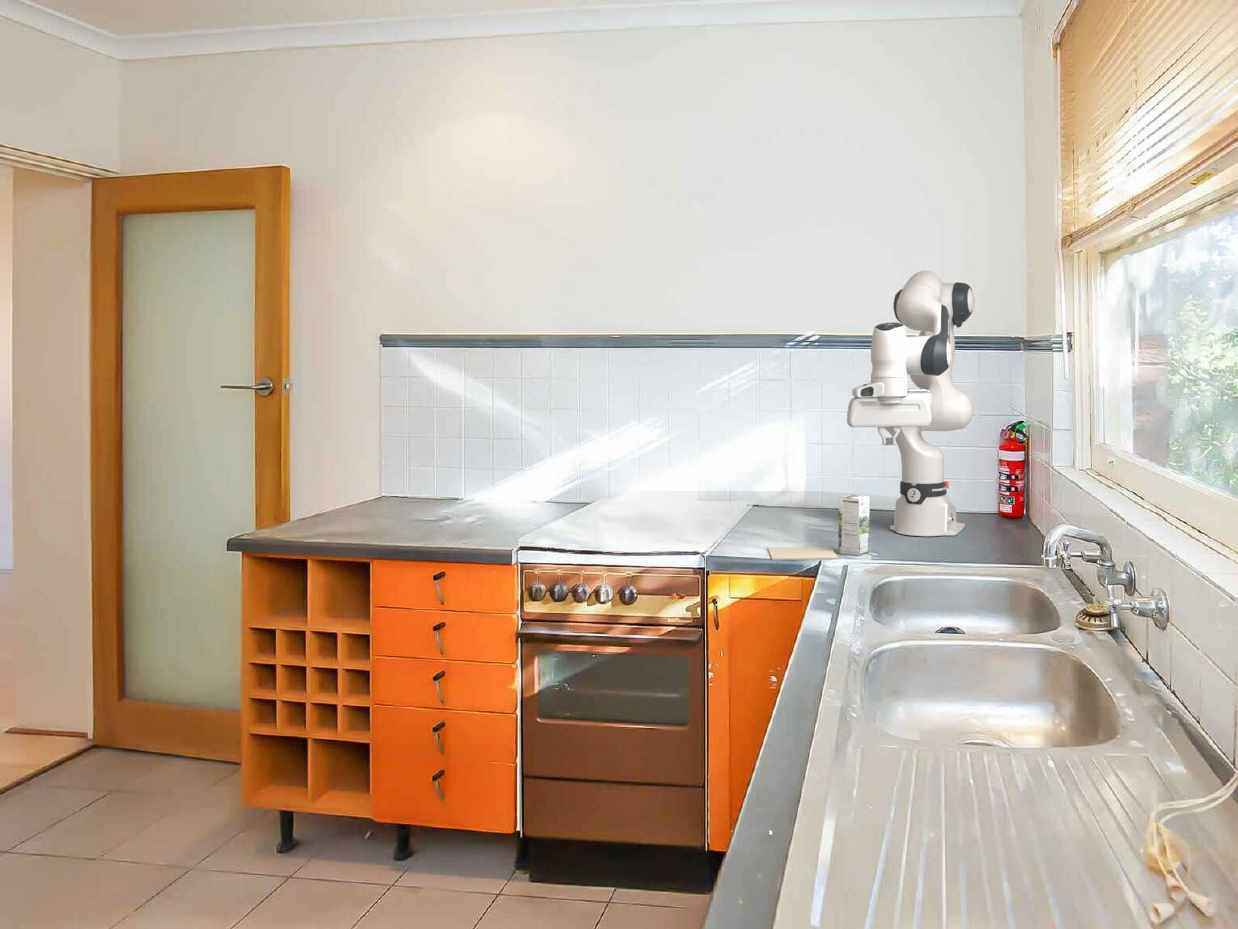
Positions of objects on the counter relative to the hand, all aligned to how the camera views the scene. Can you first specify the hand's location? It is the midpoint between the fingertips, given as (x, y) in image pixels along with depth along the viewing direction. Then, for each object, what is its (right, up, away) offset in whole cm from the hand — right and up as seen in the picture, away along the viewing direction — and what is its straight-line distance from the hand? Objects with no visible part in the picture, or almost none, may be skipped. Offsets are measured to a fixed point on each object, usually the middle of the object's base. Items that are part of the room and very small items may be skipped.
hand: (888, 445), depth 263 cm
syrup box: (-8, -27, +4) cm, 29 cm away
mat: (-21, -27, +4) cm, 35 cm away
